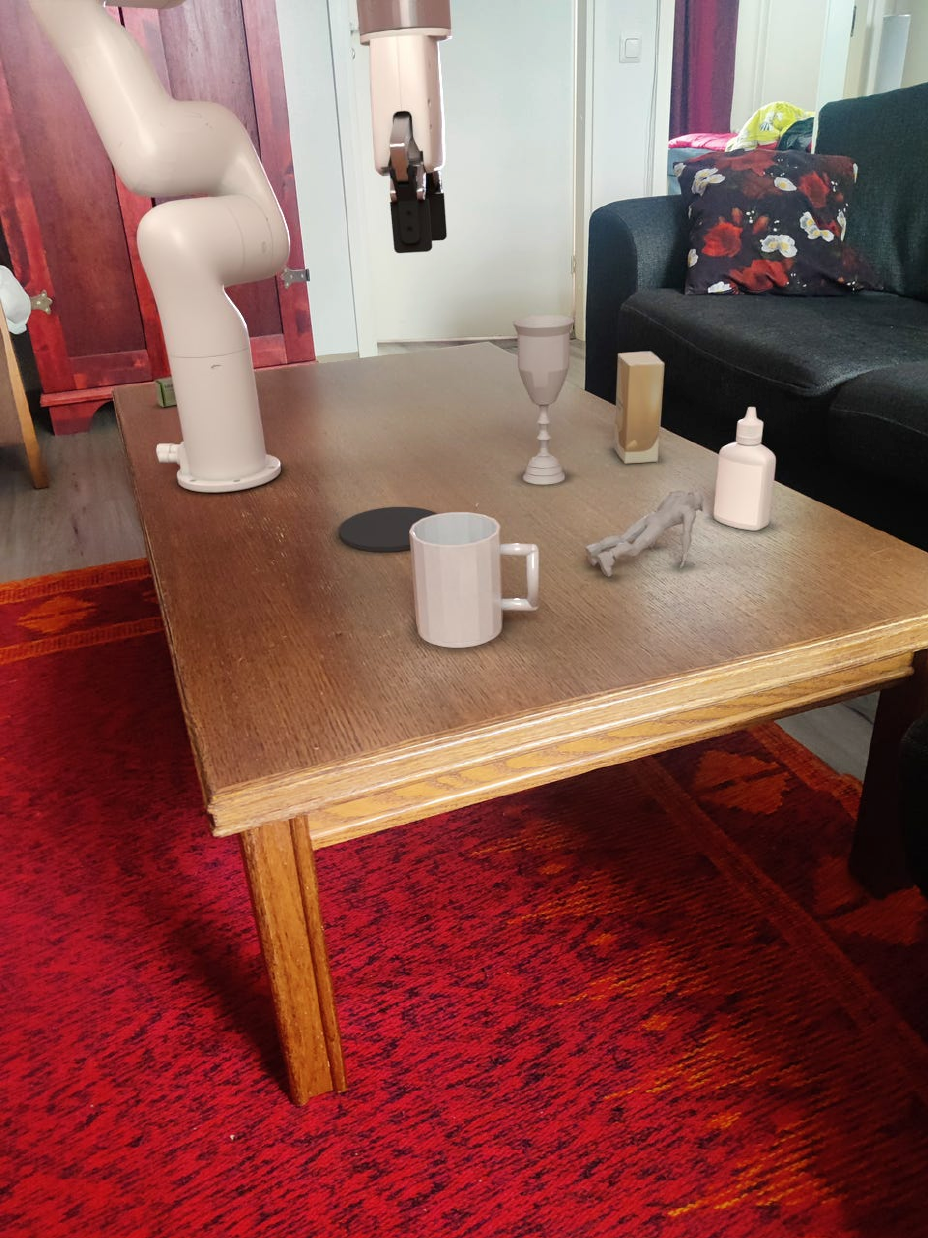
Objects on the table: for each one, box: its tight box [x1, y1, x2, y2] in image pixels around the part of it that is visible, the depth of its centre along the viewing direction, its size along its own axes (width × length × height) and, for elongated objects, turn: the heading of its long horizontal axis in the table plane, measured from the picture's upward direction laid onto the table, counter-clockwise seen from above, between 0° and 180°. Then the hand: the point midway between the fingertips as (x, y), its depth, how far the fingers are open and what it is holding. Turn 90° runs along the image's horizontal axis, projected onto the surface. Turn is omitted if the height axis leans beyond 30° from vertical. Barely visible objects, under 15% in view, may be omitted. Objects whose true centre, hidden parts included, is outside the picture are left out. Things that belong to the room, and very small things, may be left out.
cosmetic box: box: [613, 351, 665, 465], centre depth 116 cm, size 6×4×12 cm
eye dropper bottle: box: [713, 406, 777, 532], centre depth 95 cm, size 4×6×12 cm
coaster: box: [338, 506, 438, 553], centre depth 100 cm, size 11×11×1 cm
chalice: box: [512, 314, 575, 485], centre depth 109 cm, size 7×7×18 cm
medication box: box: [153, 376, 177, 409], centre depth 152 cm, size 12×3×4 cm, turn 126°
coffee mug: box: [409, 511, 540, 649], centre depth 78 cm, size 10×7×9 cm
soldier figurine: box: [584, 490, 705, 578], centre depth 89 cm, size 6×5×12 cm
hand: (422, 245), depth 85 cm, fingers open, 9 cm apart
